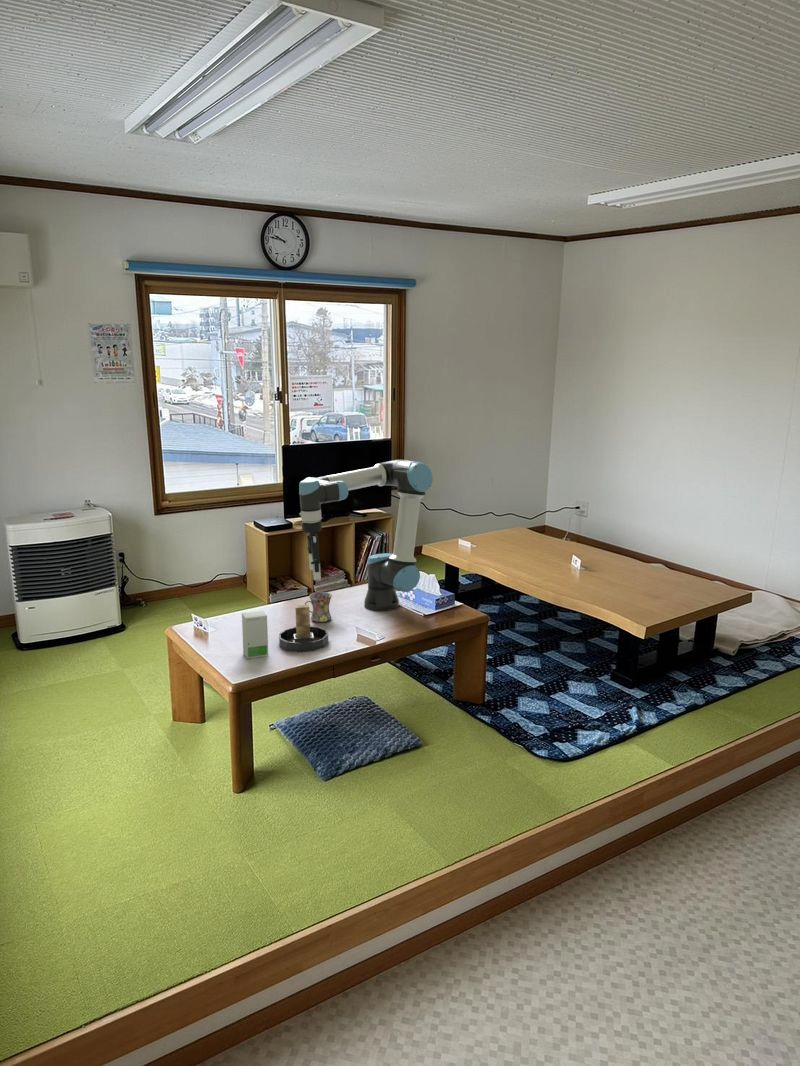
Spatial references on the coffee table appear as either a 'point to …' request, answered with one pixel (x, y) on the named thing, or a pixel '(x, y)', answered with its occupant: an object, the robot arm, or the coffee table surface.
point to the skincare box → (255, 634)
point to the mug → (320, 606)
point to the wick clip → (303, 639)
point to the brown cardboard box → (302, 621)
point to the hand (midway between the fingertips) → (315, 574)
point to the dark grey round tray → (318, 643)
